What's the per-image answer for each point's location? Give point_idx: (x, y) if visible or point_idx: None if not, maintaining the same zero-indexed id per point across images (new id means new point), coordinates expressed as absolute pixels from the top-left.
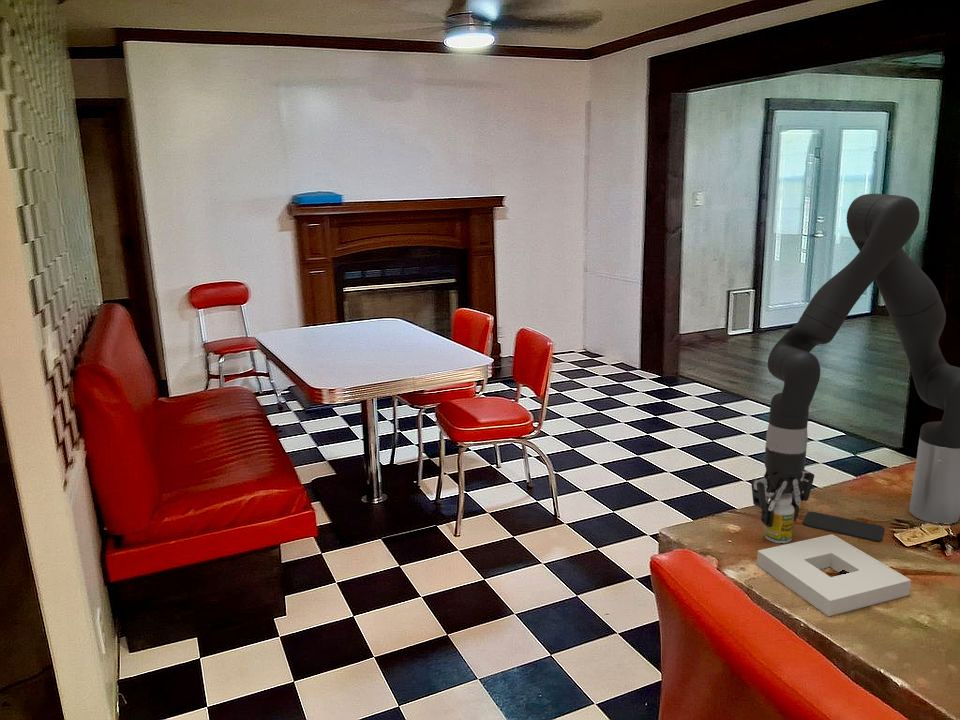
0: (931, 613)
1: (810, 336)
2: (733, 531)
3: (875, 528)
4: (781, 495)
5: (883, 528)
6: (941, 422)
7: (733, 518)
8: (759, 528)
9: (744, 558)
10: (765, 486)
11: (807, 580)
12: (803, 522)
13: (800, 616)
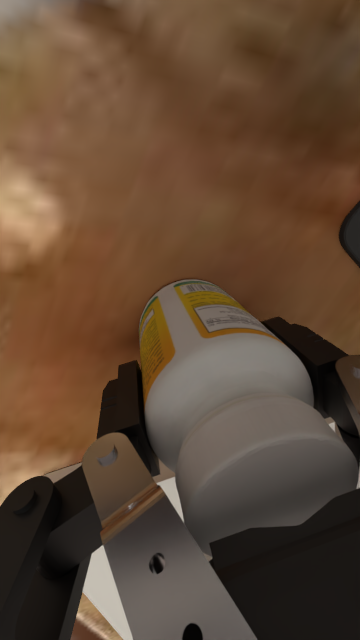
0: None
1: None
2: (15, 257)
3: None
4: (275, 507)
5: None
6: None
7: (51, 101)
8: (150, 241)
9: (12, 447)
10: (133, 633)
11: (121, 613)
12: (349, 224)
13: (79, 609)
